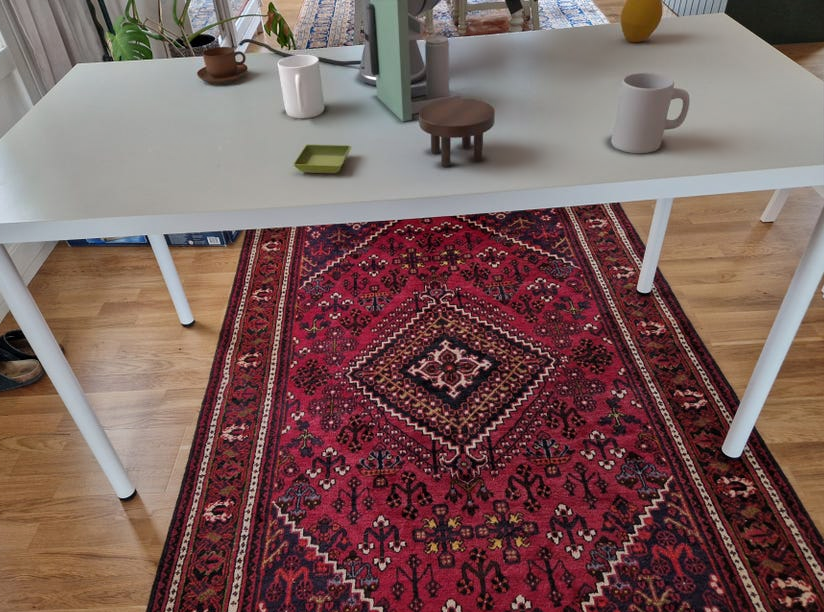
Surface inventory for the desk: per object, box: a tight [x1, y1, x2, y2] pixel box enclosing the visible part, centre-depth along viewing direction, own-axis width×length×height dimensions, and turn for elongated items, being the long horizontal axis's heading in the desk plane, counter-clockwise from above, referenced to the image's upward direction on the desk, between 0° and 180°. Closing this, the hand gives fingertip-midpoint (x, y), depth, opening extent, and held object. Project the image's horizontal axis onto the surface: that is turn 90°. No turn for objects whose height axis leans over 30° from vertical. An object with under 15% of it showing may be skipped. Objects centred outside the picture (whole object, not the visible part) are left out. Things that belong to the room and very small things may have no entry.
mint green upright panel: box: [366, 0, 461, 123], centre depth 128 cm, size 16×16×22 cm
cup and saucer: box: [196, 46, 248, 84], centre depth 153 cm, size 12×12×6 cm
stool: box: [418, 97, 496, 168], centre depth 112 cm, size 13×13×8 cm
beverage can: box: [424, 35, 450, 100], centre depth 133 cm, size 5×5×12 cm
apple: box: [620, 0, 664, 43], centre depth 157 cm, size 10×10×12 cm
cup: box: [277, 54, 325, 119], centre depth 131 cm, size 8×12×10 cm
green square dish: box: [293, 143, 352, 174], centre depth 114 cm, size 9×9×2 cm
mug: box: [610, 72, 691, 154], centre depth 111 cm, size 12×8×11 cm
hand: (529, 5), depth 137 cm, fingers open, 13 cm apart
